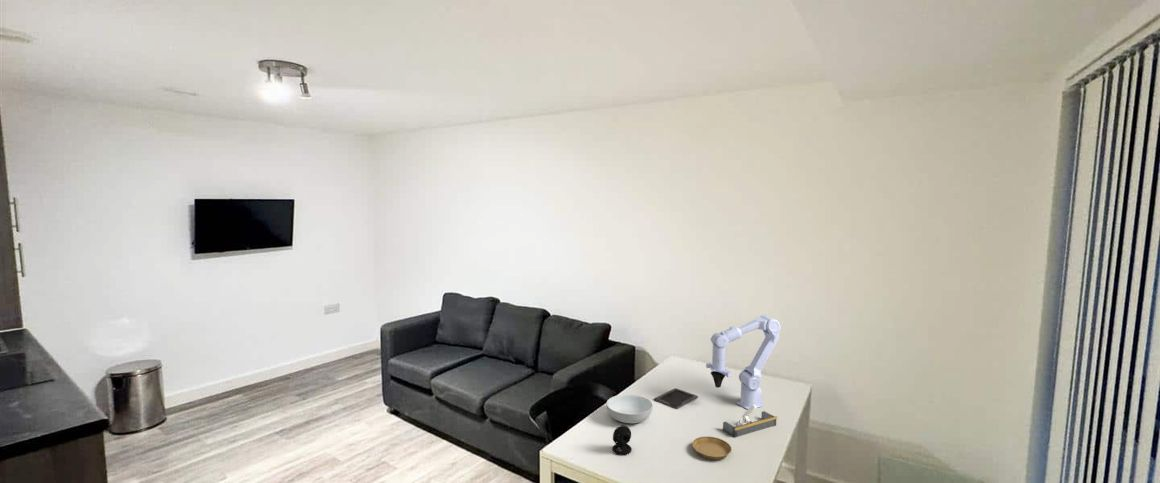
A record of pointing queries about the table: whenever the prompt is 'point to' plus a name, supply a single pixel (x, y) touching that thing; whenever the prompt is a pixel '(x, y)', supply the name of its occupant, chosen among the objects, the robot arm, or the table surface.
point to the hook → (747, 415)
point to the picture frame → (676, 398)
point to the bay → (751, 425)
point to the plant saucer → (711, 447)
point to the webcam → (622, 440)
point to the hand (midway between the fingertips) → (718, 386)
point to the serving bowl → (629, 408)
